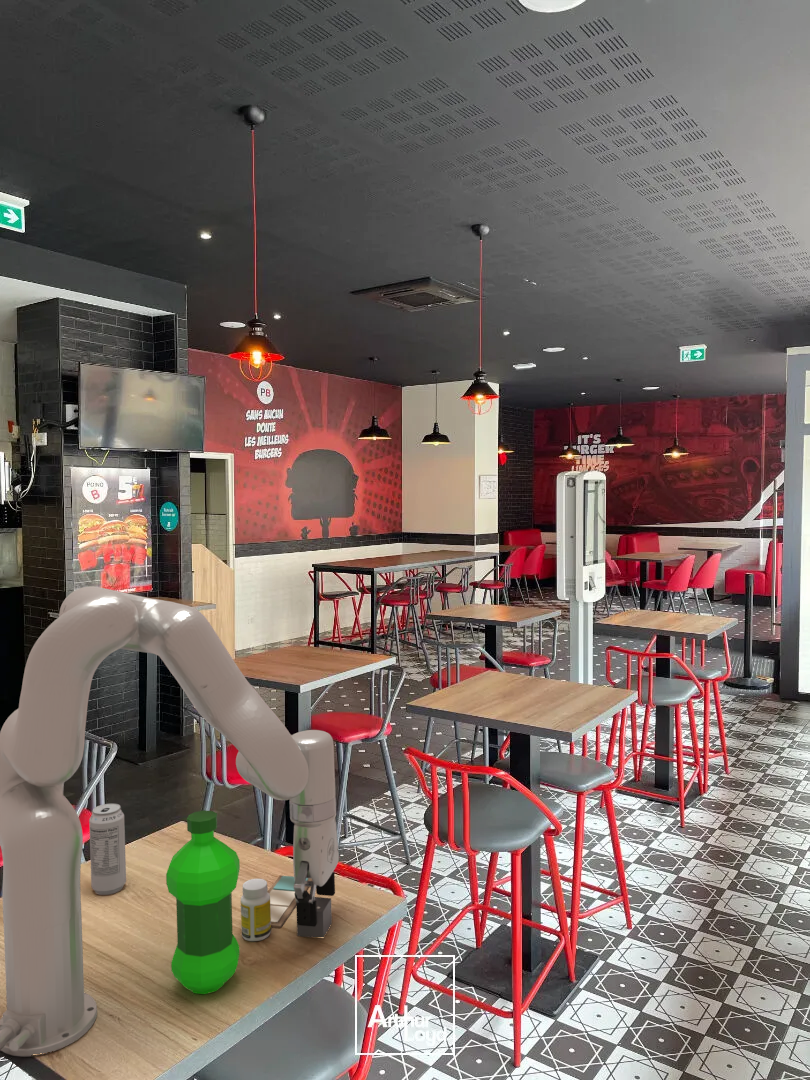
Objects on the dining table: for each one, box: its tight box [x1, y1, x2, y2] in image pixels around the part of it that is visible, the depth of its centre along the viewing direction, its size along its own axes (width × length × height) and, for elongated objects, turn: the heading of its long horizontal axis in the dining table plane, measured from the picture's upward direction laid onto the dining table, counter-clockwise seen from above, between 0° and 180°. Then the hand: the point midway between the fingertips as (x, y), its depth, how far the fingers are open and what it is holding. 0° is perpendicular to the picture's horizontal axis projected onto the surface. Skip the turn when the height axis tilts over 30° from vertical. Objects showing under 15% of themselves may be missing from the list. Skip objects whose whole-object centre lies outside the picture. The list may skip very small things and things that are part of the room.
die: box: [296, 896, 333, 938], centre depth 131 cm, size 4×4×5 cm
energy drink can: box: [88, 803, 127, 896], centre depth 147 cm, size 6×6×15 cm
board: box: [267, 875, 313, 929], centre depth 141 cm, size 17×7×1 cm, turn 168°
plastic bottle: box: [165, 809, 241, 995], centre depth 116 cm, size 10×10×25 cm
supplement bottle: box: [240, 878, 272, 942], centre depth 130 cm, size 5×5×8 cm
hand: (316, 909), depth 132 cm, fingers open, 9 cm apart
